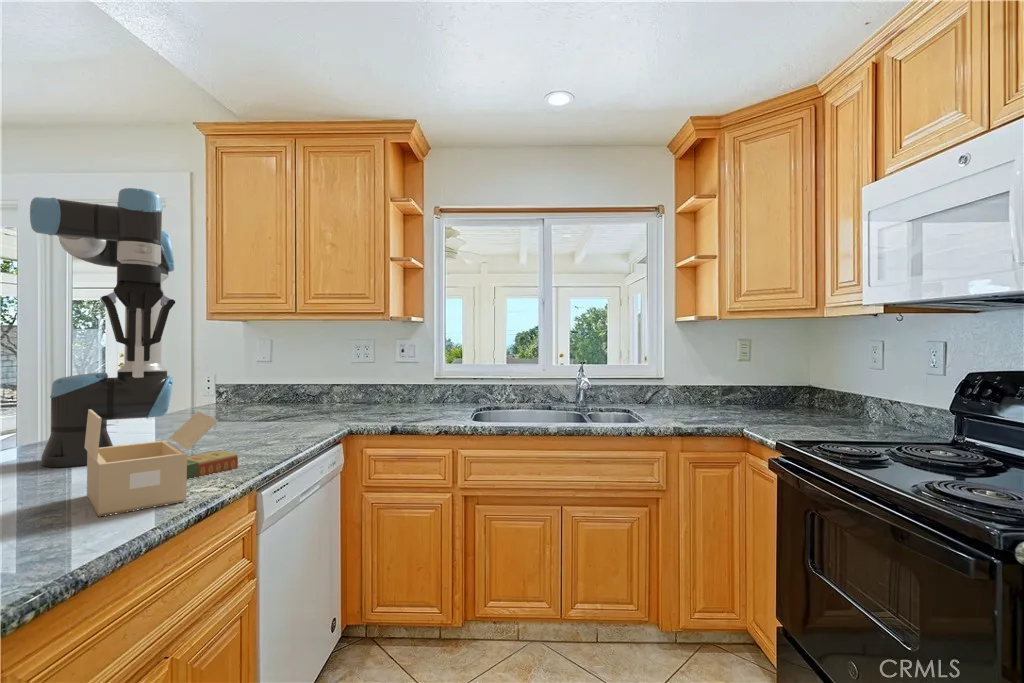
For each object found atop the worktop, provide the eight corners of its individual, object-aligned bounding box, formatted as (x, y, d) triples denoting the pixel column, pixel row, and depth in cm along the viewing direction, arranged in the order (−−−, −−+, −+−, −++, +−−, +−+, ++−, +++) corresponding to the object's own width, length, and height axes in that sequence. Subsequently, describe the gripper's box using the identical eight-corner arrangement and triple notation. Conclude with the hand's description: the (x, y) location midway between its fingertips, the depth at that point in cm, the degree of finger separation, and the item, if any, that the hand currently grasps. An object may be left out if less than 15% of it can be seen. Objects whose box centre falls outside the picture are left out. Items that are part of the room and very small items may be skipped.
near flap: (87, 447, 111) (84, 447, 110) (91, 409, 111) (88, 409, 110) (97, 460, 100) (94, 460, 100) (101, 418, 100) (98, 418, 100)
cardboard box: (86, 495, 112) (87, 448, 112) (166, 483, 122) (166, 440, 122) (98, 517, 99) (99, 464, 99) (186, 501, 109) (187, 454, 109)
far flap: (197, 411, 125) (199, 412, 125) (169, 438, 121) (171, 439, 121) (216, 419, 114) (218, 420, 114) (186, 448, 110) (188, 450, 110)
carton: (238, 469, 137) (238, 453, 137) (174, 484, 123) (175, 466, 122) (218, 465, 141) (218, 449, 141) (154, 479, 126) (154, 461, 126)
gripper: (103, 259, 103) (101, 379, 103) (179, 266, 112) (178, 377, 112) (97, 262, 108) (96, 377, 108) (171, 269, 117) (169, 374, 117)
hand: (137, 377), depth 110 cm, fingers closed
